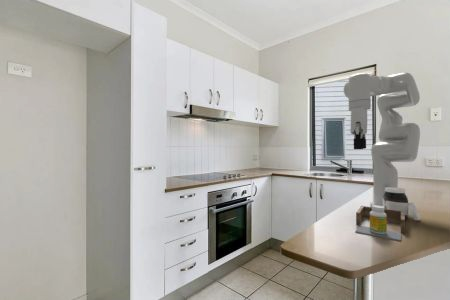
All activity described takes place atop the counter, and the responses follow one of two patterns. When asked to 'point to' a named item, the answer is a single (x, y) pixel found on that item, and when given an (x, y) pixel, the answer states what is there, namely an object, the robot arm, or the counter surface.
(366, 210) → the open front box
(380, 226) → the supplement bottle
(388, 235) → the slate mat
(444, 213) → the counter surface
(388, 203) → the spread jar
